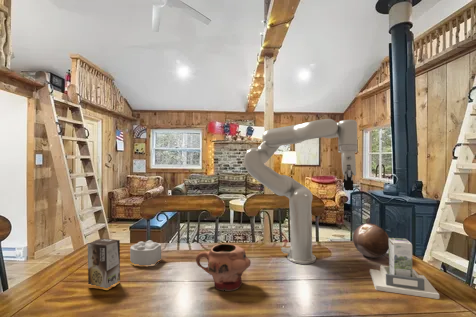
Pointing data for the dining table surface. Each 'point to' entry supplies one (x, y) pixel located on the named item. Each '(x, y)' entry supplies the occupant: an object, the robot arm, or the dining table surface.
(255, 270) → the dining table surface
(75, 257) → the dining table surface
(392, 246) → the syrup box
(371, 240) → the wooden sphere
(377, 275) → the shelf bay
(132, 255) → the lumpy-topped squat cylinder
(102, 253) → the coffee box
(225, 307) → the dining table surface
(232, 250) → the sculpted clay mug
